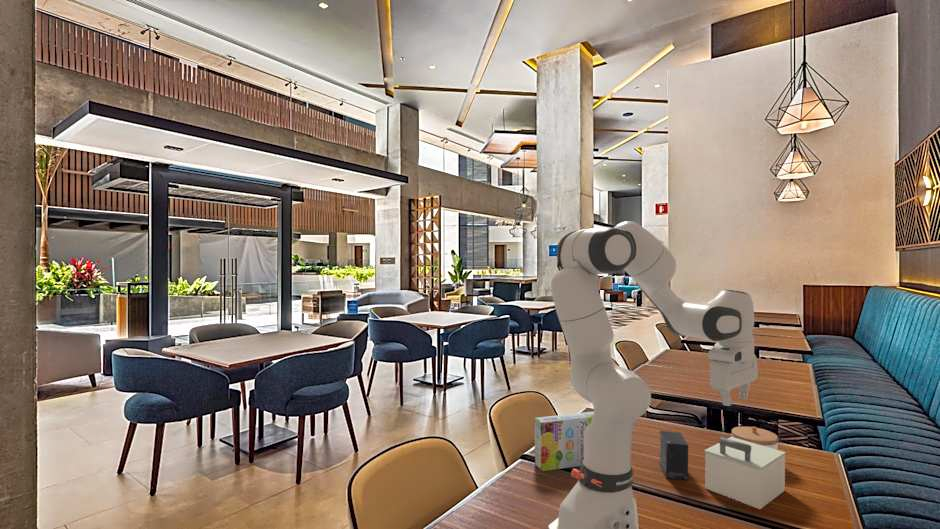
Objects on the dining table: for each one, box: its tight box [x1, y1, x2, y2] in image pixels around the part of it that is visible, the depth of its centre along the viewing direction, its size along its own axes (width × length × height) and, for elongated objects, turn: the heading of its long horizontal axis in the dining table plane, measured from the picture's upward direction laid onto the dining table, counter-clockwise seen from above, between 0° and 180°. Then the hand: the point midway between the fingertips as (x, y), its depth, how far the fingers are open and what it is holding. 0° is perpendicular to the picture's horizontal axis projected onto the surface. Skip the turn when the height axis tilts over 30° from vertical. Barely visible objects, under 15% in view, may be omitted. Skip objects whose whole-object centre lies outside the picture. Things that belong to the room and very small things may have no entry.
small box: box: [659, 430, 689, 481], centre depth 143 cm, size 11×6×10 cm, turn 168°
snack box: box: [533, 411, 594, 472], centre depth 149 cm, size 21×6×15 cm, turn 105°
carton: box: [704, 452, 786, 510], centre depth 132 cm, size 16×14×10 cm
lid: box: [703, 436, 787, 471], centre depth 132 cm, size 16×14×5 cm
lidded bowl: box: [731, 426, 779, 450], centre depth 150 cm, size 13×13×11 cm
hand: (735, 401), depth 128 cm, fingers open, 8 cm apart
